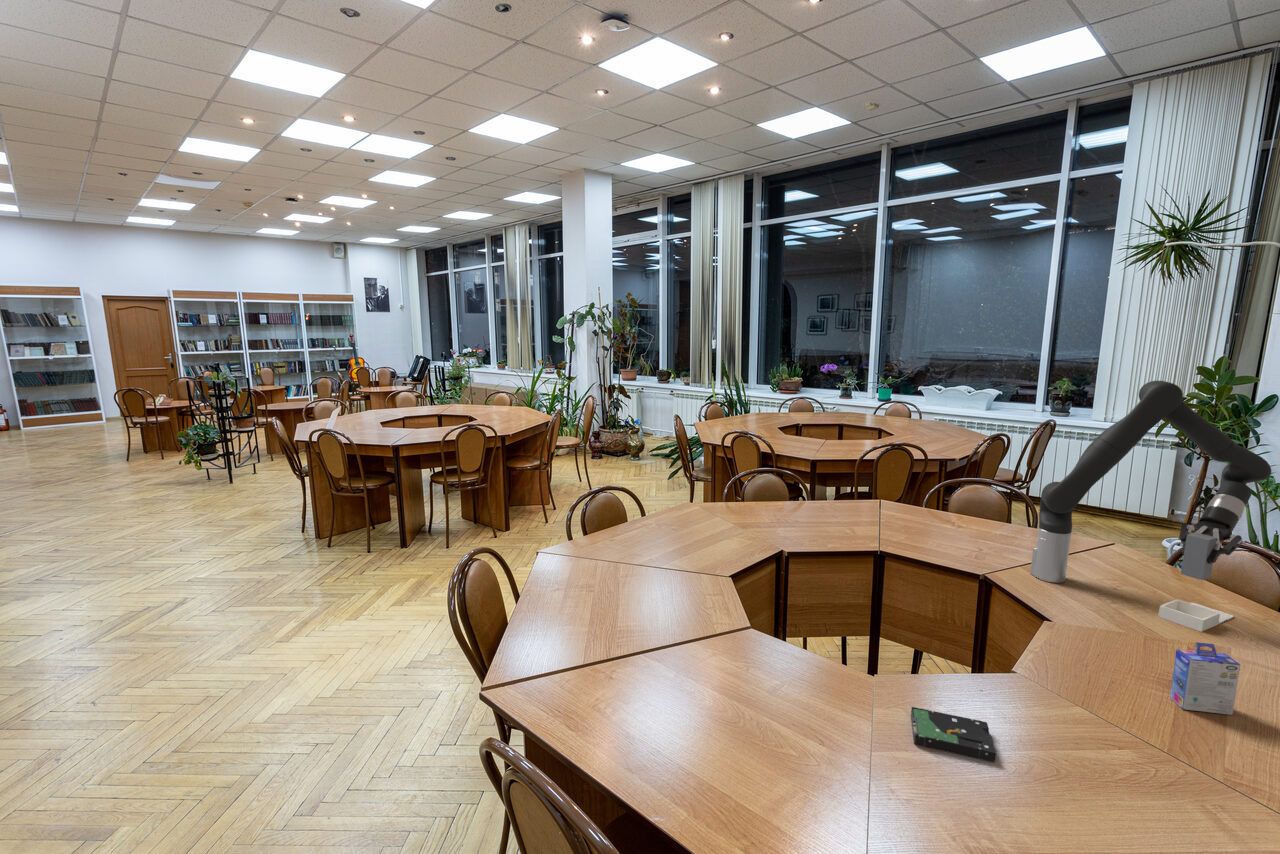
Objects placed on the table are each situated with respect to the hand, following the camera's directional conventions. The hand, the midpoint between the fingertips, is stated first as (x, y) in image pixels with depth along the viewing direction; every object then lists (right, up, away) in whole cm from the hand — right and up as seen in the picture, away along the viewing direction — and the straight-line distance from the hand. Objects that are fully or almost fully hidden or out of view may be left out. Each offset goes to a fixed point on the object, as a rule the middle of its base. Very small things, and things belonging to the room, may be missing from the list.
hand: (1196, 558), depth 175 cm
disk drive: (-96, -27, -49) cm, 111 cm away
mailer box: (+5, -19, +6) cm, 20 cm away
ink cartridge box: (-33, -26, -37) cm, 56 cm away
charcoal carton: (+1, -5, +1) cm, 5 cm away
